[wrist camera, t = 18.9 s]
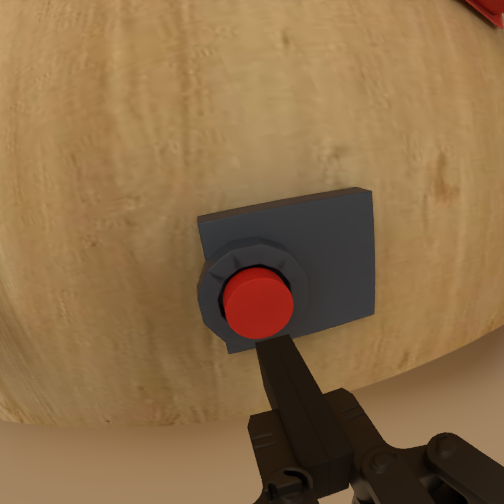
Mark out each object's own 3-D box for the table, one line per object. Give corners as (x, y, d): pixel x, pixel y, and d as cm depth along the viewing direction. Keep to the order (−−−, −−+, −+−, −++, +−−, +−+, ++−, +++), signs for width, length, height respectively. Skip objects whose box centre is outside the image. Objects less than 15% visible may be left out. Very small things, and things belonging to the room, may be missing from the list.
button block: (214, 341, 24) (218, 372, 20) (183, 219, 21) (180, 233, 17) (362, 302, 25) (385, 324, 22) (357, 186, 22) (386, 194, 18)
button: (229, 330, 20) (233, 345, 18) (216, 275, 18) (219, 287, 17) (288, 316, 20) (296, 329, 19) (281, 260, 19) (289, 271, 17)
